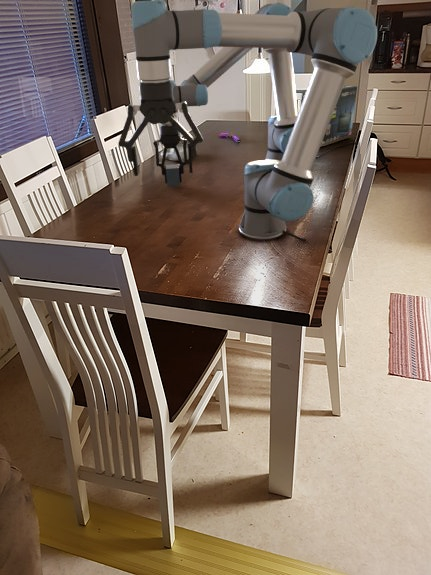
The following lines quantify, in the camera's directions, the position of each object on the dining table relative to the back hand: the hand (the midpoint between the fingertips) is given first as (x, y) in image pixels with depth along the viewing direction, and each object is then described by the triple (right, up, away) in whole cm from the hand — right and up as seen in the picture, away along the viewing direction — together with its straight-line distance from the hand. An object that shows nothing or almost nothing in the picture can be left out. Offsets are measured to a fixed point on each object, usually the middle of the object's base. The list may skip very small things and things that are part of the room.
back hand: (173, 181), depth 191 cm
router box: (+76, +33, +54) cm, 99 cm away
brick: (0, -1, 0) cm, 1 cm away
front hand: (+5, -15, -76) cm, 77 cm away
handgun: (+26, +40, +69) cm, 84 cm away
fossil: (-1, +21, +39) cm, 44 cm away
